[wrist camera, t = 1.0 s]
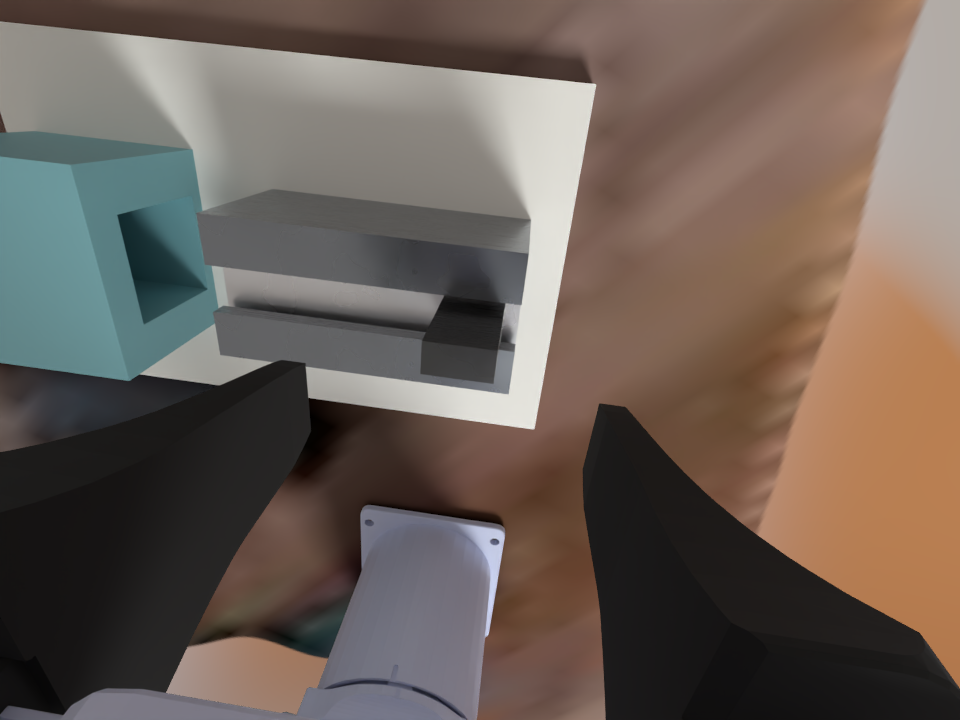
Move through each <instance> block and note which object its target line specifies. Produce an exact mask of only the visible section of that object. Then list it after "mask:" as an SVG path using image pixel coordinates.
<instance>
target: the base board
mask: <svg viewBox="0 0 960 720" xmlns="http://www.w3.org/2000/svg"><path fill="white" fill-rule="evenodd" d="M595 88H596V84H590V83H580V82H571V81H561V80H552V79H542V78H533V77H523V76H514V75H504V74H495V73H485V72H476V71H466V70H457V69H447V68H438V67H428V66H419V65H409V64H400V63H390V62H381V61H371V60H362V59H352V58H343V57H333V56H324V55H314V54H305V53H295V52H286V51H276V50H267V49H257V48H248V47H238V46H229V45H219V44H210V43H200V42H191V41H181V40H172V39H162V38H153V37H143V36H134V35H124V34H115V33H105V32H96V31H86V30H77V29H67V28H58V27H48V26H39V25H29V24H20V23H10V22H1V21H0V113H1V116H2V119H3V122H4V126H5V129H6V132H26V131H38V132H47V133H56V134H64V135H73V136H81V137H90V138H99V139H107V140H116V141H124V142H133V143H142V144H150V145H159V146H167V147H176V148H185V149H193V155H194V161H195V167H196V173H197V179H198V186H199V192H200V198H201V204H202V210H203V211H204V210H207V209H210V208H213V207H217V206H220V205H223V204H226V203H229V202H233V201H236V200H239V199H242V198H245V197H249V196H252V195H255V194H258V193H261V192H265V191H268V190H271V189H277V190H285V191H294V192H302V193H311V194H319V195H327V196H336V197H344V198H352V199H361V200H369V201H378V202H386V203H394V204H403V205H411V206H420V207H428V208H436V209H445V210H453V211H461V212H470V213H478V214H487V215H495V216H503V217H512V218H520V219H529V220H531V229H530V245H529V257H528V264H527V271H526V278H525V285H524V292H523V299H522V305H521V308H520V315H519V322H518V329H517V336H516V343H515V344H516V345H515V354H514V361H513V368H512V375H511V382H510V389H509V394H501V393H494V392H487V391H479V390H472V389H465V388H457V387H450V386H443V385H436V384H428V383H421V382H414V381H406V380H399V379H392V378H384V377H377V376H370V375H362V374H355V373H348V372H341V371H333V370H326V369H319V368H311V367H306V375H307V387H308V398H313V399H320V400H327V401H334V402H341V403H349V404H356V405H363V406H370V407H377V408H384V409H391V410H399V411H406V412H413V413H420V414H427V415H434V416H441V417H449V418H456V419H463V420H470V421H477V422H484V423H491V424H499V425H506V426H513V427H520V428H527V429H534V428H535V422H536V417H537V411H538V406H539V400H540V395H541V389H542V383H543V378H544V372H545V367H546V361H547V356H548V350H549V344H550V339H551V333H552V328H553V322H554V317H555V311H556V305H557V300H558V294H559V289H560V283H561V278H562V272H563V266H564V261H565V255H566V250H567V244H568V239H569V233H570V227H571V222H572V216H573V211H574V205H575V200H576V194H577V188H578V183H579V177H580V172H581V166H582V161H583V155H584V149H585V144H586V138H587V133H588V127H589V122H590V116H591V110H592V105H593V99H594V94H595ZM212 271H213V277H214V284H215V290H216V296H217V302H218V308H220V307H222V306H229V305H228V298H227V292H226V285H225V279H224V272H223V267H218V266H212ZM271 363H273V362H267V361H260V360H253V359H246V358H238V357H231V356H224V355H220V351H219V345H218V339H217V333H216V327H215V324H213V325H212V326H210V327H209V328H207V329H206V330H204V331H203V332H201V333H200V334H198V335H197V336H195V337H194V338H192V339H191V340H189V341H188V342H187V343H185V344H184V345H182V346H181V347H179V348H178V349H176V350H175V351H173V352H172V353H170V354H169V355H167V356H166V357H164V358H163V359H161V360H160V361H158V362H157V363H155V364H154V365H152V366H151V367H149V368H148V369H146V370H145V371H143V372H142V373H140V374H141V375H148V376H156V377H163V378H170V379H177V380H184V381H191V382H198V383H206V384H213V385H222V384H224V383H227V382H229V381H231V380H233V379H236V378H238V377H240V376H242V375H245V374H247V373H249V372H251V371H254V370H256V369H258V368H261V367H263V366H266V365H268V364H271Z"/></svg>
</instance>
